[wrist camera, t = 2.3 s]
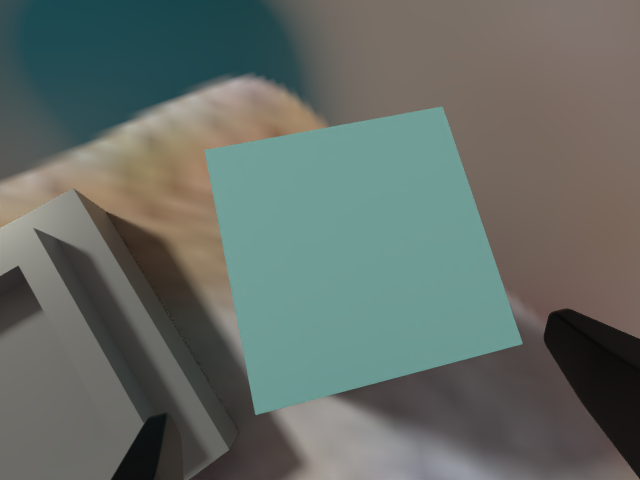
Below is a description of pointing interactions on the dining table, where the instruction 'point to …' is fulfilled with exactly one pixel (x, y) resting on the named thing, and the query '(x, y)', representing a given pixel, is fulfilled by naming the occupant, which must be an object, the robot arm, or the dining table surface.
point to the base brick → (90, 352)
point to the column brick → (355, 257)
